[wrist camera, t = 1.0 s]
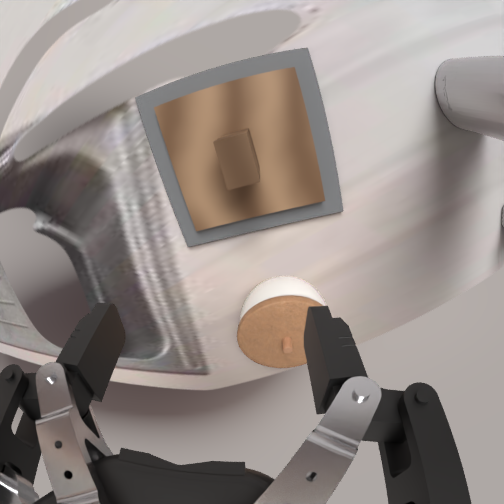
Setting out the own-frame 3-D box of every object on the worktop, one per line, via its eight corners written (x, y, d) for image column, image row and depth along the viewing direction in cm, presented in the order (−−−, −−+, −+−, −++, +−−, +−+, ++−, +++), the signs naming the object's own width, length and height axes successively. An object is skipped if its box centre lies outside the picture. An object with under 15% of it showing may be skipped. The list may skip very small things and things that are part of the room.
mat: (306, 48, 22) (307, 47, 21) (341, 209, 30) (343, 211, 29) (137, 98, 24) (135, 97, 24) (189, 244, 32) (187, 247, 32)
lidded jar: (283, 336, 39) (288, 388, 31) (224, 299, 36) (215, 354, 28) (339, 290, 35) (357, 342, 27) (279, 243, 32) (286, 293, 24)
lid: (293, 68, 22) (304, 55, 16) (323, 197, 29) (340, 223, 23) (157, 107, 24) (128, 108, 18) (198, 227, 31) (183, 259, 25)
